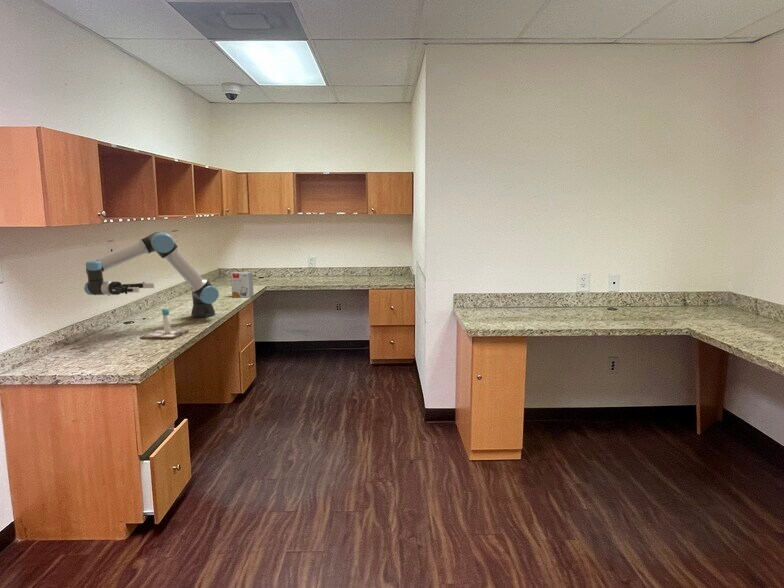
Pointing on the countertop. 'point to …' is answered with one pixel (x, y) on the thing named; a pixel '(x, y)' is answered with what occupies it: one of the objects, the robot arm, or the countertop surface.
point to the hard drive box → (242, 284)
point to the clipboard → (161, 334)
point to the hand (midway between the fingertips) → (146, 287)
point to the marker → (166, 321)
